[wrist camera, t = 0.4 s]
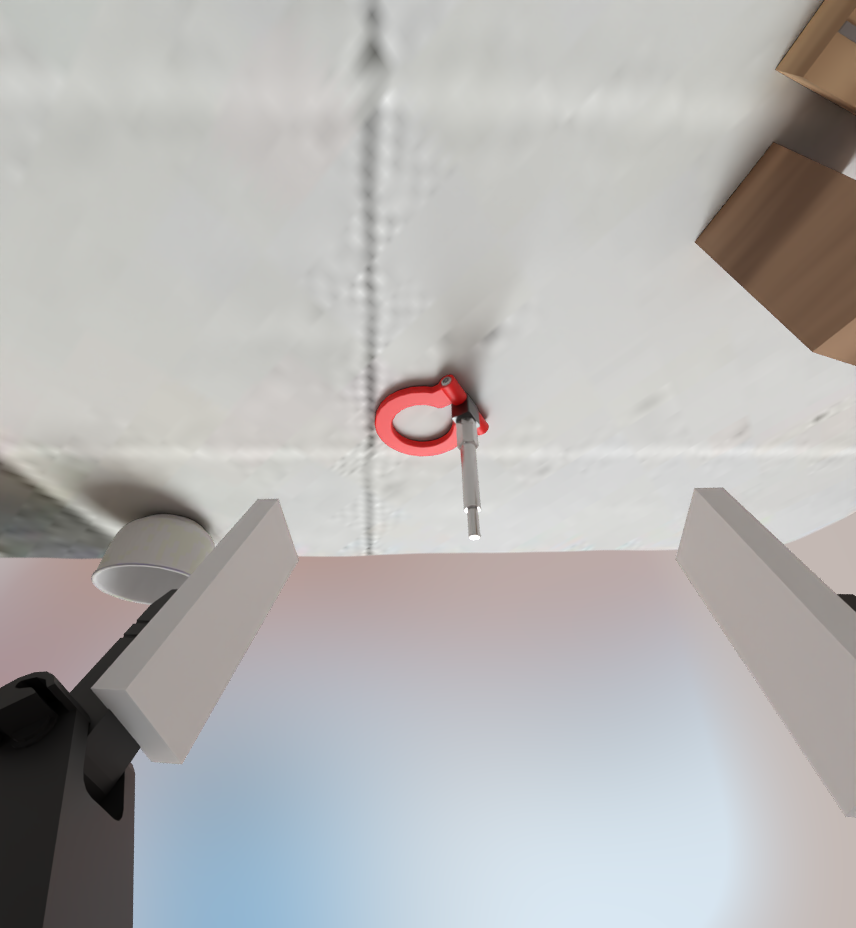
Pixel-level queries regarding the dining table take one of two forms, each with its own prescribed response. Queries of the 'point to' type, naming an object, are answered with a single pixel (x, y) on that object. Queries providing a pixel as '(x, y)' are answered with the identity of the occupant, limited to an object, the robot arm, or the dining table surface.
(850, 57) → the board
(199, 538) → the teacup
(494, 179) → the dining table surface
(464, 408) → the tow hook
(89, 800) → the robot arm
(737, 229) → the block
